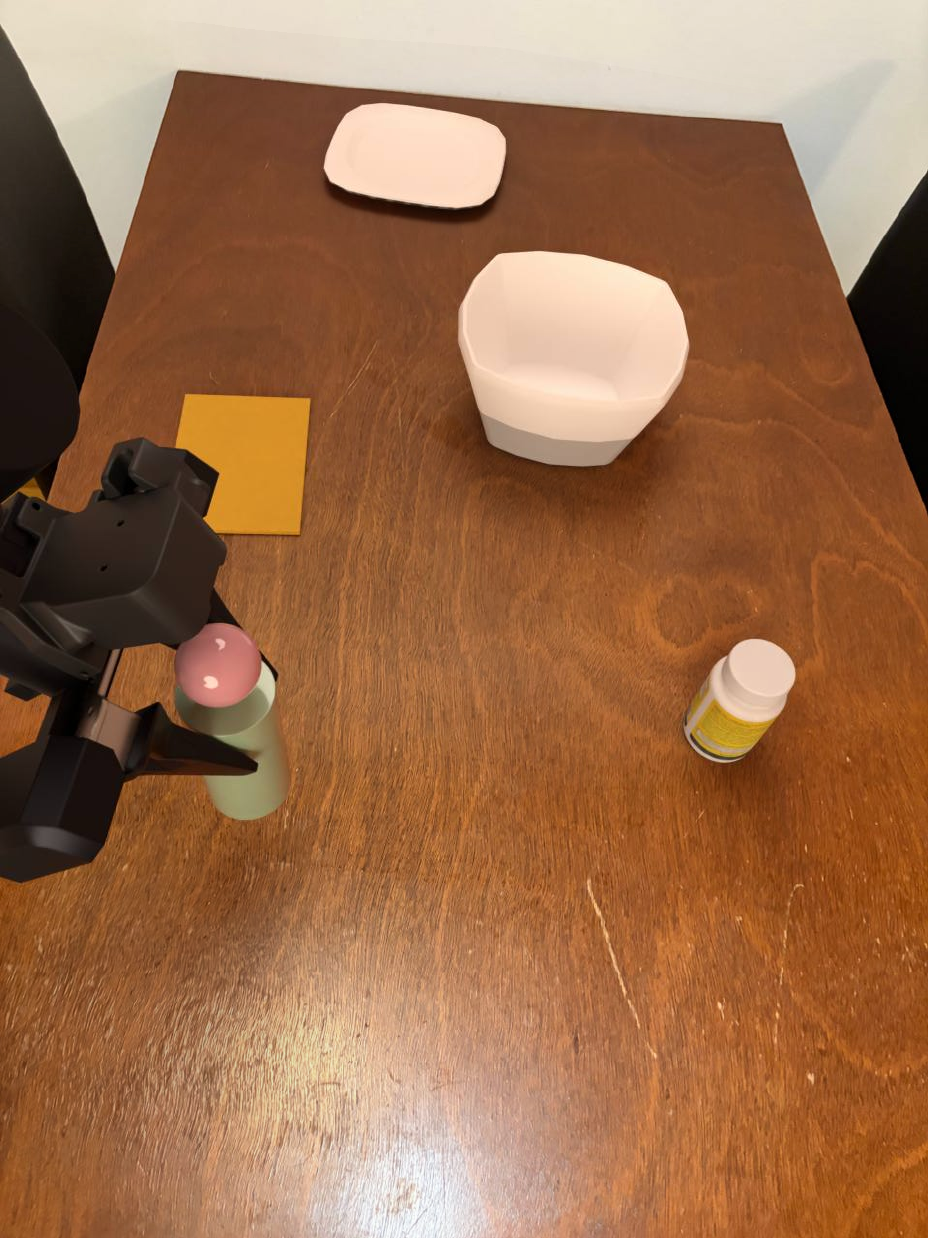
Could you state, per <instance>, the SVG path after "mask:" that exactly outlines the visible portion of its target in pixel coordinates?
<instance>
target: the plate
mask: <svg viewBox="0 0 928 1238" xmlns="http://www.w3.org/2000/svg"><path fill="white" fill-rule="evenodd" d="M506 155H507V142H506V136H504V134H503V133H502V131H501V130H500V128H498V127H497V126H496V125H494V124H492V123H491V122H488V121H485V120H483V119H482V118H480V117H475V116H471V115H466V114H462V113H457V112H452V111H446V110H441V109H434V108H429V107H421V106H416V105H415V106H414V105H407V104H399V103H398V104H397V103H385V102H379V103H369V104H368V103H367V104H361V105H359V106H357V107H355V108H354V109H352V110H350V111H348V112H347V113H345V115H344V116H343V117H342V120H341V121H340V122H339V123H338V125H337V127H336V129H335V131H334V133H333V136H332V138H331V140H330V143H329V145H328V147H327V151H326V153H325V158H324V163H323V164H324V165H323V171H324V173H325V176H326V177H327V179H328V181H329V183H330V184H332V185H333V186H336V187H337V188H339V189H341V190H343V191H345V192H347V193H348V194H352V195H356V196H361V197H364V198H369V199H373V200H378V201H384V202H389V203H395V204H401V205H408V206H415V207H422V208H427V209H439V210H440V209H441V210H454V211H458V210H467V209H473V208H480V207H481V206H483V205H484V204H485V203H487V202H488V201H489V200H491V199H492V198H494V197H495V194H496V192H497V190H498V188H499V185H500V183H501V179H502V175H503V171H504V166H505V162H506V161H505V159H506Z"/></svg>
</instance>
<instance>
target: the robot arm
mask: <svg viewBox="0 0 928 1238" xmlns="http://www.w3.org/2000/svg"><path fill="white" fill-rule="evenodd" d="M81 413H82V412H81V404H80V397H79V390H78V386H77V384H76V381H75V379H74V376H73V374H72V370H71V369H70V367H69V366H68V364H67V362H66V360H65V358H64V357H63V355H62V354H61V352H60V351H59V349H58V348H57V347H56V346H55V344H54V343H53V342H52V341H51V339H49V337H48V336H47V334H45V333H44V331H43V330H42V329H41V328H40V327H38V326H37V325H36V324H35V323H34V322H33V321H31V320H30V319H29V318H28V317H27V316H26V315H25V314H23V313H22V312H21V311H20V310H17V309H16V308H15V307H13V306H12V305H10V304H9V303H7V302H6V301H3V300H1V299H0V676H2V677H3V678H6V679H8V680H7V682H6V685H5V687H4V690H3V692H4V693H6V694H8V695H10V696H13V697H15V698H17V699H20V700H22V701H24V702H26V703H28V702H30V701H31V700H34V699H35V698H37V697H39V696H41V695H44V696H46V697H49V698H51V699H50V702H49V704H48V707H47V709H46V711H45V715H44V717H43V720H42V722H41V724H40V725H41V726H40V728H39V731H38V733H37V736H36V737H35V741H33V742H31V743H29V744H27V745H24V746H23V747H21V748H18V749H16V750H14V751H12V752H10V753H8V754H6V755H4V756H1V757H0V878H1V879H5V880H8V881H11V882H14V883H18V884H24V883H27V882H31V881H34V880H37V879H40V878H45V877H48V876H51V875H54V874H59V873H62V872H64V871H67V870H71V869H74V868H75V869H76V868H78V867H81V866H85V865H88V864H92V862H94V860H95V858H96V857H97V856H98V854H99V853H100V852H101V851H102V849H103V848H104V847H105V845H106V842H107V839H108V836H109V834H110V833H109V832H110V829H111V826H112V823H113V820H114V816H115V813H116V809H117V807H118V804H119V800H120V797H121V794H122V791H123V788H124V784H125V783H129V782H131V781H133V780H135V779H137V778H138V777H145V776H199V777H202V776H246V775H249V774H252V773H255V772H257V769H258V763H257V762H256V761H254V760H253V759H251V758H249V757H248V756H246V755H245V754H243V753H241V752H240V751H238V750H236V749H233V748H231V747H229V746H226V745H224V744H222V743H219V742H217V741H214V740H212V739H210V738H207V737H205V736H203V735H200V734H198V733H195V732H193V731H191V730H188V729H186V728H184V727H183V726H181V725H179V724H177V723H175V722H173V721H172V720H171V718H170V716H169V715H168V713H167V711H166V709H165V707H164V706H163V704H162V702H160V701H156V702H154V703H151V704H149V705H147V706H145V707H142V708H140V709H138V710H135V711H131V710H129V709H127V708H125V707H122V706H121V705H118V704H116V703H114V702H112V701H110V700H109V698H108V696H109V694H110V692H111V691H110V690H111V688H112V685H113V682H114V679H115V676H116V673H117V671H118V667H119V665H120V661H121V659H122V655H123V652H124V649H129V648H133V647H134V648H135V647H136V648H137V647H143V646H149V645H156V644H160V645H163V646H165V647H168V648H170V649H171V650H174V651H175V652H176V651H177V649H178V646H179V645H180V643H183V642H186V641H188V640H190V639H192V638H193V637H195V636H196V635H197V634H198V633H199V632H200V631H201V630H202V629H203V628H204V626H205V625H206V624H210V623H226V624H231V625H234V626H236V627H238V628H240V629H242V630H244V628H243V627H242V626H241V624H239V622H238V621H237V619H236V618H235V616H233V614H232V612H231V611H230V610H229V609H228V607H227V605H226V603H225V602H224V601H223V599H222V598H221V596H220V595H219V593H218V592H217V590H216V589H215V583H216V580H217V576H218V573H219V570H220V567H222V566H224V565H225V562H226V558H227V554H228V547H227V544H226V542H224V540H223V539H222V538H221V537H220V536H219V534H218V533H215V532H214V530H213V529H212V528H211V527H210V526H209V525H208V524H207V523H206V521H205V520H204V519H203V518H204V517H205V516H207V513H208V510H209V506H210V503H211V500H212V497H213V493H214V490H215V487H216V484H217V481H218V477H219V474H220V473H219V472H217V471H216V470H215V469H214V468H212V467H211V466H210V465H208V464H207V463H205V462H204V461H202V460H201V459H200V458H198V457H197V456H195V455H194V454H193V453H191V452H190V451H188V450H187V449H180V448H175V447H171V446H159V445H158V444H156V443H154V442H153V441H151V440H149V439H147V438H146V437H145V436H139V437H135V438H130V439H127V440H122V441H118V442H116V443H115V444H114V445H113V446H112V449H111V451H110V454H109V456H108V459H107V461H106V463H105V466H104V468H103V471H102V473H101V476H100V485H101V488H97V489H94V490H92V492H91V495H90V496H89V500H88V502H87V504H86V507H85V508H84V509H82V510H80V511H76V512H73V511H70V510H66V509H63V508H59V507H56V506H54V505H52V504H50V503H49V502H47V501H46V500H44V499H42V498H40V497H39V496H38V497H37V496H28V495H27V494H25V493H23V492H22V491H19V490H20V489H21V488H23V487H24V486H25V485H27V484H28V483H29V482H30V481H31V480H32V479H34V478H35V477H36V476H37V475H39V474H40V473H41V472H42V471H44V470H45V469H46V468H47V467H48V466H50V465H51V464H52V463H54V462H55V461H56V460H57V459H58V458H60V457H61V456H62V454H64V452H66V450H67V449H68V448H69V447H70V446H71V445H72V444H73V442H74V440H75V438H76V436H77V434H78V430H79V426H80V418H81ZM259 651H260V654H261V660H262V661H263V662H264V663H265V664H266V665H267V666H268V667H269V669H270V670H271V672H272V674H273V676H274V680H275V683H277V681H278V679H279V672H278V670H276V669H275V667H274V666H273V664H271V662H270V660H268V658H267V657H266V655H264V653H263V652H262V651H261V649H259Z"/></svg>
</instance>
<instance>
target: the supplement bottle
mask: <svg viewBox="0 0 928 1238" xmlns="http://www.w3.org/2000/svg"><path fill="white" fill-rule="evenodd" d="M795 681H796V668H795V665H794V662H793V660H792V659H791V657H790V656H789V654H788V653H787V652H786V651H785V650H784V649H782V647H780V646H779V645H777V644H775V643H773V642H771V641H769V640H765V639H759V638H749V639H745V640H742V641H740V642H739V643H737V644H736V645H735V646H733V647H732V648H731V650H730V651H729V653H728V655H725V656H724V657H722V658H721V659H719V660H718V661H717V662H716V663H715V664H714V665H713V667H712V668H711V670H710V672H709V673H708V675H707V676H706V678H705V680H704V682H703V683H702V685H701V686H700V688H699V690H698V691H697V693H696V695H695V696H694V698H693V700H692V701H691V703H690V704H689V706H688V708H687V709H686V712H685V714H684V716H683V721H682V722H683V724H682V725H683V732H684V736H685V737H686V739H687V742H688V743H689V744H690V746H691V747H692V748H693V750H695V752H697V753H698V754H699V755H700V756H702V757H704V758H705V759H707V760H710V761H713V762H716V763H722V764H723V763H724V764H725V763H732V762H733V763H734V762H737V761H739V760H741V759H743V758H744V757H746V756H747V755H748V754H749V753H750V752H751V751H752V749H753V748H754V746H756V744H757V743H758V742H759V740H760V739H761V738H762V737H763V735H764V734H765V733H766V731H767V730H768V729H769V728H770V726H772V724H773V722H774V721H775V720H776V719H777V718H778V717H779V715H780V714H781V713H782V711H783V710H784V708H785V705H786V703H787V698H788V694H789V692H790V691H791V689H792V687H793V686H794V683H795Z"/></svg>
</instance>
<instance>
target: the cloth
mask: <svg viewBox="0 0 928 1238" xmlns="http://www.w3.org/2000/svg"><path fill="white" fill-rule="evenodd" d="M183 399H184V400H183V403H182V409H181V415H180V420H179V425H178V426H179V427H178V429H177V430H178V431H177V436H176V441H175V446H174V448H180V449H187V450H188V451H190V452H191V453H193V454H194V455H195V456H197V457H198V458H200V459H201V460H202V461H204V462H205V463H207V464H208V465H210V466H211V467H212V468H214V469H215V470H216V471H217V472H219V473H220V474H219V477H218V481H217V484H216V487H215V490H214V493H213V497H212V500H211V503H210V506H209V510H208V513H207V516H205V517H204V518H203V519H204V520H205V521H206V523H207V524H208V525H209V526H210V527H211V528H212V529H213V530H214V532H215V533H216V534H239V535H241V534H242V535H243V534H244V535H249V534H250V535H285V536H286V535H289V536H290V535H291V536H300V535H301V530H302V518H303V507H304V506H303V505H304V493H305V479H306V466H307V454H308V441H309V429H310V417H311V404H312V400H311V398H309V397H308V398H306V397H283V396H281V397H280V396H254V395H251V396H250V395H222V394H200V393H199V394H198V393H197V394H195V393H185V394H184V398H183Z"/></svg>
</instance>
